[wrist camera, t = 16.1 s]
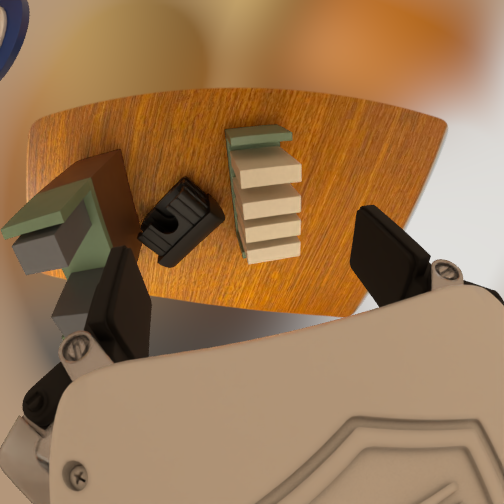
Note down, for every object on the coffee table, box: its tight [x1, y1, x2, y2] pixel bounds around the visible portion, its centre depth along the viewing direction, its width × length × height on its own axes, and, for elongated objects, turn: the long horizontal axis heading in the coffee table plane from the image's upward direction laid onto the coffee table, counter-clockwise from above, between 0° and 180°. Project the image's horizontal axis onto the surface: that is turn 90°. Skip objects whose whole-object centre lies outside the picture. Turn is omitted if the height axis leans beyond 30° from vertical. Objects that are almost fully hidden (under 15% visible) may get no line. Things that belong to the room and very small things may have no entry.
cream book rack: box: [225, 124, 301, 264], centre depth 35 cm, size 16×7×10 cm, turn 4°
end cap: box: [137, 177, 225, 268], centre depth 37 cm, size 10×7×7 cm
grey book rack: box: [1, 149, 142, 340], centre depth 28 cm, size 14×7×20 cm, turn 4°
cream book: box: [230, 146, 301, 189], centre depth 32 cm, size 2×6×9 cm, turn 94°
